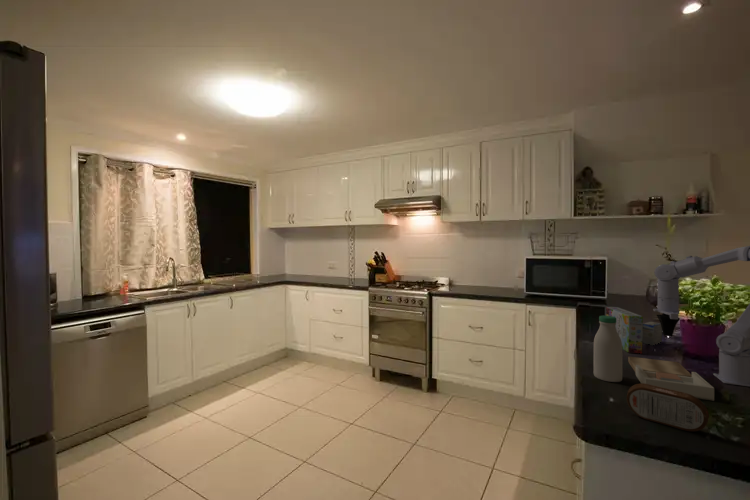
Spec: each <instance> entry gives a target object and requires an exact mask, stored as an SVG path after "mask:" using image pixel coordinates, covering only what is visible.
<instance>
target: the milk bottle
mask: <svg viewBox="0 0 750 500" xmlns="http://www.w3.org/2000/svg"><path fill="white" fill-rule="evenodd" d="M598 320H599V321H598V323H599V328H598V330H597V331H596V333H595V336H594V339H593V376H594V377H595V378H596V379H598V380H601V381H605V382H609V383H611V382H612V383H620V382H622V381H623V349H622V342H621V339H620V337H619V335H618V333H617V330H616V326H615V325H616V317H613V316H606V315H599V317H598Z"/></svg>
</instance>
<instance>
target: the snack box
mask: <svg viewBox="0 0 750 500" xmlns="http://www.w3.org/2000/svg"><path fill="white" fill-rule="evenodd" d="M605 316H613V317H616V325H615V326H616V330H617V333H618V335H619V337H620V339H621V342H622V351H623V350H624V351H625V352H626V353H629V354H639V353H640V354H641V355H642V354H643V343H642V337H643V324H644V316H643V315H640V314H638V313H635V312H632V311H630V310H628V309H624V308H621V307H618V306H606V307H605Z"/></svg>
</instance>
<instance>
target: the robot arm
mask: <svg viewBox="0 0 750 500" xmlns="http://www.w3.org/2000/svg"><path fill="white" fill-rule="evenodd" d="M737 261H742V262H750V245H746V246H742V247H736V248H732V249H729V250H726V251H723V252H718V253H716V254H712V255H710V256H706V257H700V256H697V255H695V256H693V255H688V256H686V257H685V259H681V260H677V261H676V260H672V261H670V264H665V263H663V264H660V265H658V266H657V267H656V268H654V276H655V278H656V279H657V308H653V309H652V310H653V312H657V313H661V314H656V317H657V318H658V320H659V323H661V327H662V335H663V336H665V337H673V335H674V331H675V329H676V326H677V324H678V323H679V321H680V317H679V314H680V310H679V308H680V307H679V306H680V305H679V304H680V303H679V302H680V301H679V300H680V299H679V298H680V297H679V295H680V293H679V291H680V290H679V287H680V286H679V285H680V284H679V280H680V278H686V277H689V276H694V275H698V274H702V273H705V272H706V271H707V269H708V268H710V267H714V266H717V265H718V266H719V265H722V264H727V263H731V262H737ZM715 343H716V346H717V348H719V349H718V352H719V353H718V373H714V372H713V373H712V374H713V376H714V377H715V378H717V379H719V381H721V383H723V384H726V385H727V384H728V385H736V386H742V387H750V303H749V304H748V305H747V306H746V308H745V309H744V310H743V311H742V313H741V315H740V316H739V318H738V319H737V320H736V322H735V323H733V324H732V325H731V326H730V327H729V328H728V329H727V330H726V331H725V332H723V333H721V334H719V335H718V336H717V337H716V339H715Z"/></svg>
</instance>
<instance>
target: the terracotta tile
mask: <svg viewBox="0 0 750 500" xmlns="http://www.w3.org/2000/svg"><path fill="white" fill-rule="evenodd" d="M661 378H668V379H675V380H681V379H680V378H679V377H678V376H677V375H676V374H669V373H661V372H656V379H659V380H661Z"/></svg>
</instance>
